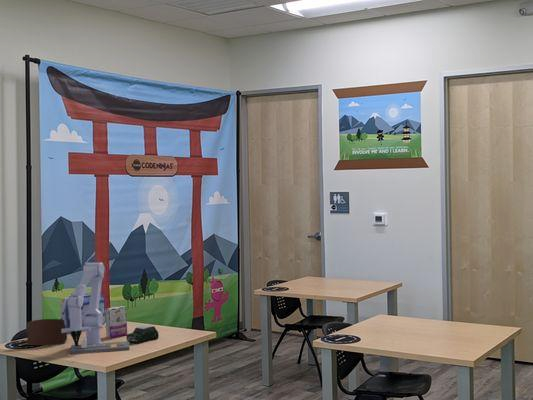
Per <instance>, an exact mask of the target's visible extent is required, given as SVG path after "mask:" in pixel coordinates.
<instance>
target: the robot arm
mask: <svg viewBox="0 0 533 400" xmlns="http://www.w3.org/2000/svg"><path fill="white" fill-rule="evenodd" d="M104 265H105V264H104V263H103V262H102V261H101V262H85V263H84V265H83V268H82V270H83V275H82V277H81V280H80V283H79V284H76V286H75V288H74V291H73V292H72V294H73V295H71V296H72V297H70V298H68V301H67V306H68V309H69V311H70V328H65V329H61V333H70V336H71V337H72V340H73V343H74V345H75V346H78V345H79V342H80V339H81V338H80V337H81V335H82V332H85V333H86V334H85V338H86V340H87V344H98V343H102V340H101V327H102V326H103V325H102V324H103V314H102V313H101V312H100V311H99V301H100V294H101V291H102V285H103V284H102V283H103V279H104V276H105V269H106V268H105V266H104ZM90 281H91V290H90V294H91V295H90V303H89V309H88V310H87V311H86V312H85V313H84V317H83V319H82V322H81V307H82V305H83V300H84V298H83V297H84V295H85V294H87V291H88V289H87V286H88V285H89V283H90ZM90 315H97V316H90ZM82 324H83V326H84V327H82ZM78 330H80V331H78Z"/></svg>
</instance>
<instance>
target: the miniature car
mask: <svg viewBox="0 0 533 400" xmlns="http://www.w3.org/2000/svg"><path fill="white" fill-rule="evenodd" d="M159 336H160V333H159V331H158V329H157V328H156V327H155V326H154V325H152V324H144V325H139V326H136V327H135V328H134V330H133V332H131V333H127V335H126V338H125V339H126V342H127V341H129V343H132V342H133V343H134V342H136V343H137V344H139V345H140V344H142V342H143V341H146V340H150V339H154V340H158V339H159Z"/></svg>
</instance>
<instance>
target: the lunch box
mask: <svg viewBox="0 0 533 400" xmlns="http://www.w3.org/2000/svg"><path fill="white" fill-rule="evenodd" d="M72 295H73V293H71V294H70V296H66V297H64V298H62V299H61V300H60V315H61V316H60V318H61V320H64V322H65V325H66V328H70V311H69V309H68V306H67V301H68V298H70V297H72ZM90 295H91V293H85V295H84V297H83V298H84V300H83V305H82V307H81V322H82V319H83V317H84V313H85V312H86V311H87V310H88V309H89V303H90ZM105 309H107V308H106V298H105V296H104V295H103V294H101V293H100V301H99V311H100V312H101V313H102V314H103V324H102V326H104V325H106V318H105ZM90 316H97V315H90ZM82 327H84V326H83V324H82ZM78 331H80V330H78Z"/></svg>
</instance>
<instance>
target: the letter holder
mask: <svg viewBox="0 0 533 400" xmlns="http://www.w3.org/2000/svg"><path fill="white" fill-rule="evenodd" d="M65 328H66V325H65V322H64V320H61V319H59V318H42V319H35V320H30V321H27V323H26V332H27V334H26V335H27V339H26V341H27V343H26V344H27V346H28V345H36V346H46V345H47V346H49V345H65V344H66V342H67V341H68V334H67V333H68V332H67V333H61V329H65Z"/></svg>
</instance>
